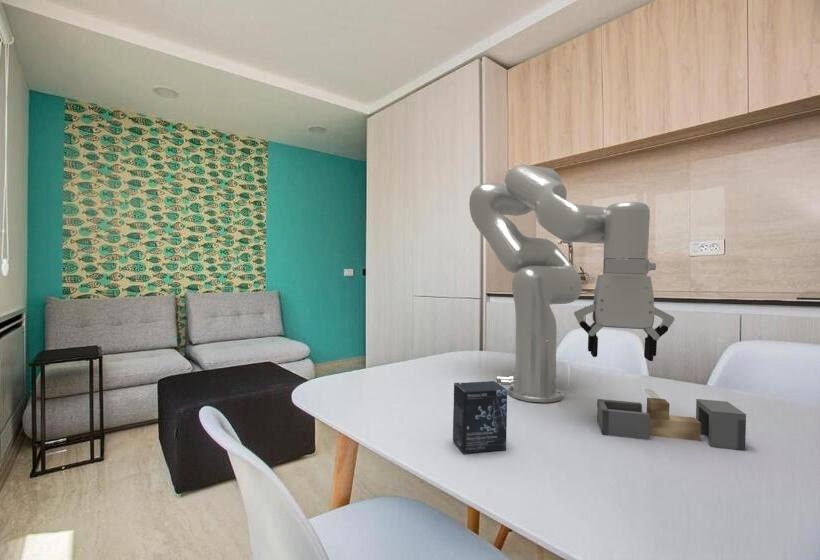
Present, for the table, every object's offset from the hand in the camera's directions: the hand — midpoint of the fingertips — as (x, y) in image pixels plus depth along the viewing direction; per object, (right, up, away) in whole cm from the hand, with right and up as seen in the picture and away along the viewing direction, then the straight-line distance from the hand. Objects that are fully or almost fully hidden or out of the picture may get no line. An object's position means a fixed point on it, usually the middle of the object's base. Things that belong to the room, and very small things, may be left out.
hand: (620, 357), depth 80 cm
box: (-29, -14, -8) cm, 33 cm away
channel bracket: (+15, -14, -5) cm, 21 cm away
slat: (+5, -14, -2) cm, 15 cm away
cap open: (0, -14, 0) cm, 14 cm away
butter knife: (+18, -14, +15) cm, 27 cm away
